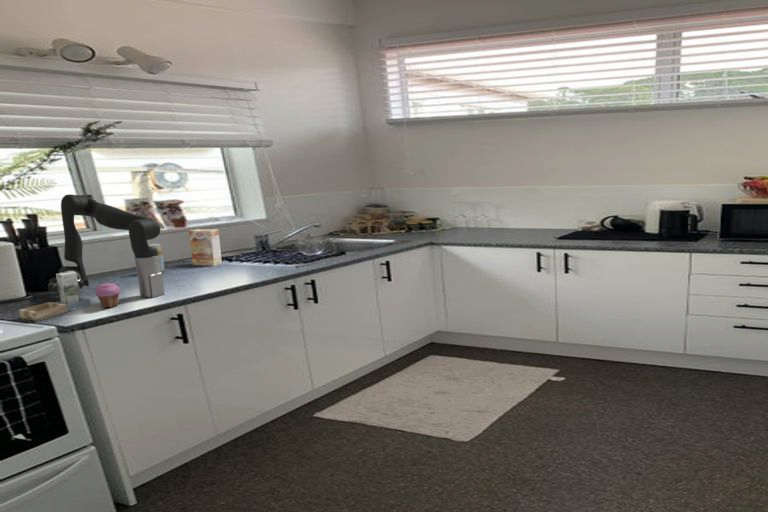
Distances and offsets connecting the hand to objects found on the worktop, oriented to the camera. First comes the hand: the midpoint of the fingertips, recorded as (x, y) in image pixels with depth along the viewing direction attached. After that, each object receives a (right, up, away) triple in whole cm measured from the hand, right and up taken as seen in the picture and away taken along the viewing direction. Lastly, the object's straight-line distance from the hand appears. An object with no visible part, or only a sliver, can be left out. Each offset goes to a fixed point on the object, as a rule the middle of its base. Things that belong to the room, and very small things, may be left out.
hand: (68, 287), depth 210 cm
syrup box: (0, -8, +3) cm, 9 cm away
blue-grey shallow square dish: (0, -8, +3) cm, 9 cm away
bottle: (+8, +4, +66) cm, 66 cm away
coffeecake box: (+28, +8, +83) cm, 88 cm away
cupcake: (+16, -8, +1) cm, 18 cm away
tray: (-4, -10, -8) cm, 14 cm away
